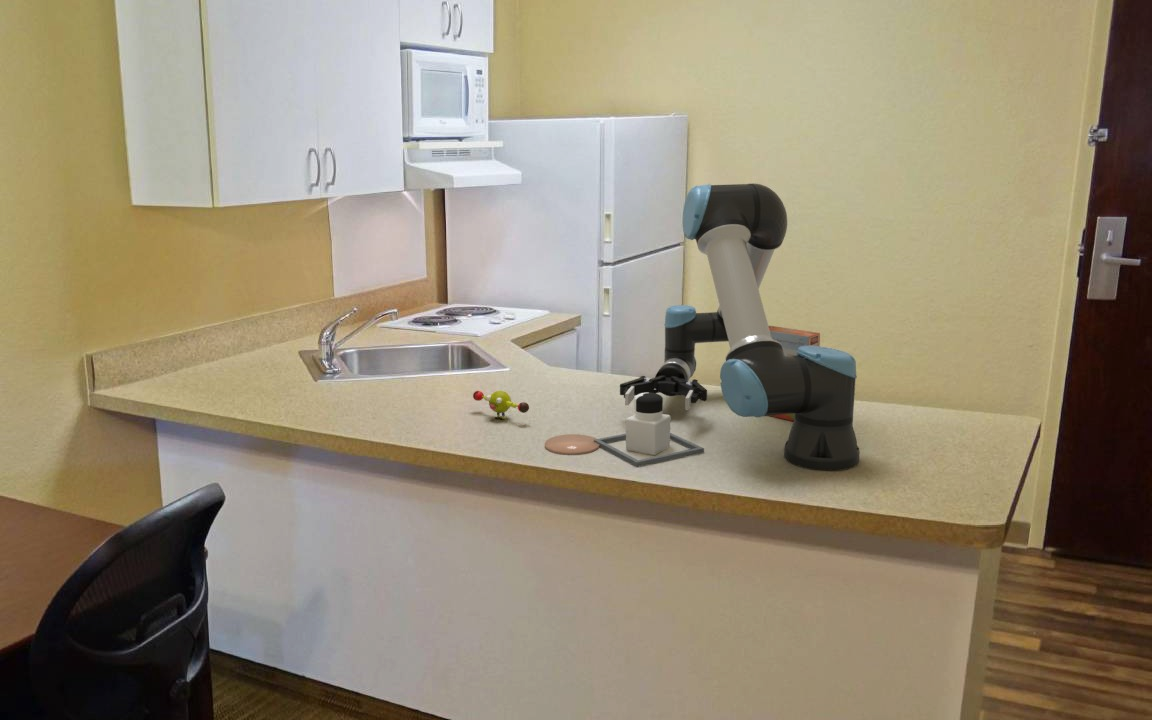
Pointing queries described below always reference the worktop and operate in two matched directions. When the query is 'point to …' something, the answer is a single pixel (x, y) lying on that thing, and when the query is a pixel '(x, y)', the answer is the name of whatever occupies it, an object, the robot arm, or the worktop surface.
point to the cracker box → (793, 346)
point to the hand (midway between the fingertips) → (656, 401)
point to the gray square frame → (692, 450)
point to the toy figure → (500, 402)
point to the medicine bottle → (648, 425)
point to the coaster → (571, 444)
